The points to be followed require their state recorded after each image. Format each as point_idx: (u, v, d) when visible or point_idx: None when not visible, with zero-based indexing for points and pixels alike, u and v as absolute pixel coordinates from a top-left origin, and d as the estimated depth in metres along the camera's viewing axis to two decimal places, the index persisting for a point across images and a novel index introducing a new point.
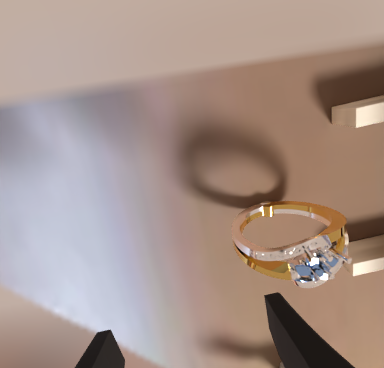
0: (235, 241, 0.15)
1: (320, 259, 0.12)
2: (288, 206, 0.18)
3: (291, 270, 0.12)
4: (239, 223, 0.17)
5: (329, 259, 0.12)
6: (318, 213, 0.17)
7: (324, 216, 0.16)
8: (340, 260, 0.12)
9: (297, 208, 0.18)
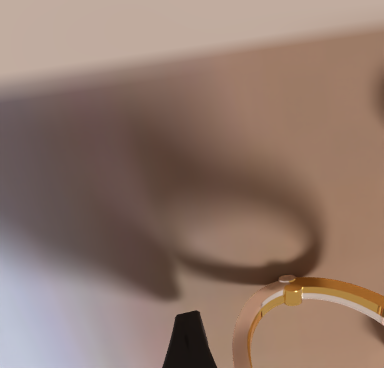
0: None
1: None
2: (327, 290, 0.11)
3: None
4: (246, 334, 0.09)
5: None
6: None
7: None
8: None
9: (344, 296, 0.10)
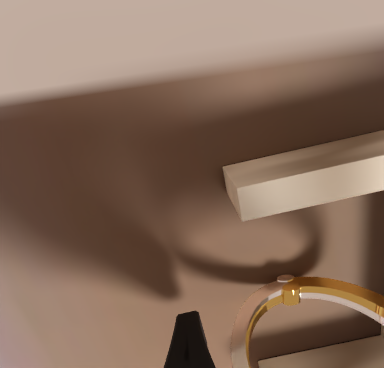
0: None
1: None
2: (325, 290, 0.11)
3: None
4: (244, 334, 0.09)
5: None
6: None
7: None
8: None
9: (342, 295, 0.11)
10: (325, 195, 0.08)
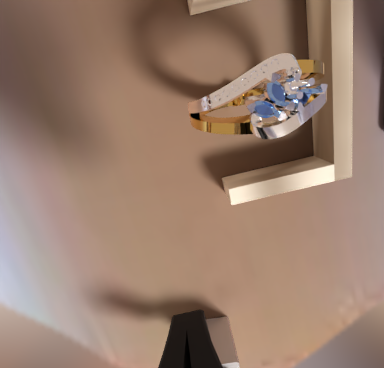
0: (189, 108, 0.12)
1: (286, 89, 0.09)
2: (261, 90, 0.15)
3: (248, 103, 0.09)
4: None
5: (295, 77, 0.09)
6: None
7: None
8: (311, 82, 0.09)
9: None
10: None
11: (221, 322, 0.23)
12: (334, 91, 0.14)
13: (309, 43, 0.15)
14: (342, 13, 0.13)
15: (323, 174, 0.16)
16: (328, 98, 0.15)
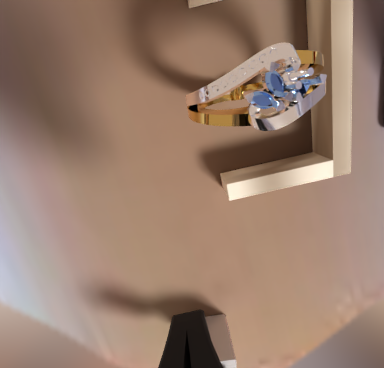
0: (187, 101, 0.12)
1: (285, 80, 0.09)
2: (260, 84, 0.15)
3: (246, 93, 0.09)
4: None
5: (294, 67, 0.09)
6: None
7: None
8: (310, 72, 0.09)
9: None
10: None
11: (218, 319, 0.23)
12: (333, 86, 0.14)
13: (308, 37, 0.15)
14: (342, 6, 0.13)
15: (322, 170, 0.16)
16: (327, 93, 0.15)
